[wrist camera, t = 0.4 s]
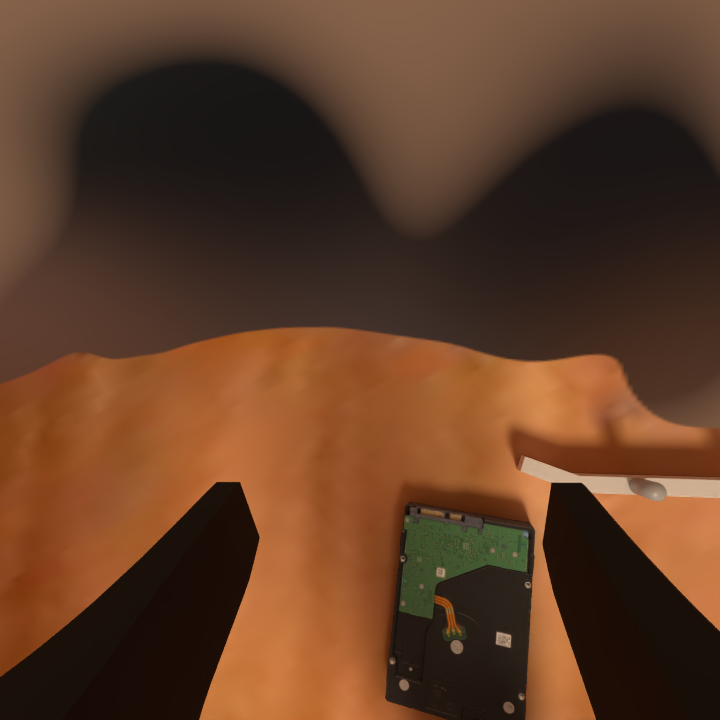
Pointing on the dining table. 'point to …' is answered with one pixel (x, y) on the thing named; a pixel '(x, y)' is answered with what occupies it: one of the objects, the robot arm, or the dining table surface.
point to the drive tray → (627, 482)
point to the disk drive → (461, 615)
